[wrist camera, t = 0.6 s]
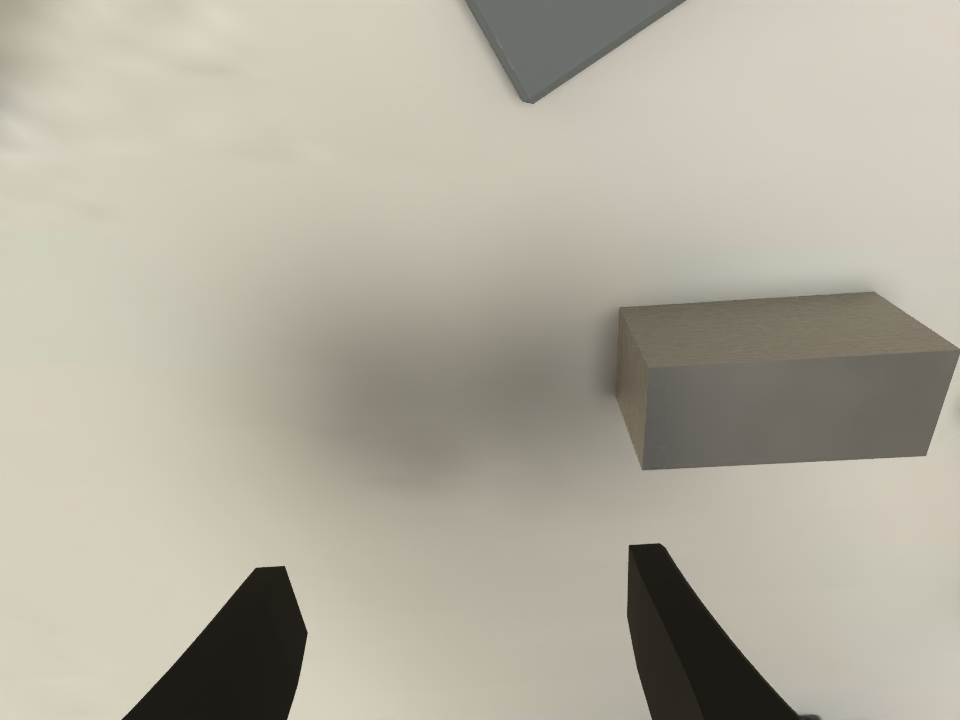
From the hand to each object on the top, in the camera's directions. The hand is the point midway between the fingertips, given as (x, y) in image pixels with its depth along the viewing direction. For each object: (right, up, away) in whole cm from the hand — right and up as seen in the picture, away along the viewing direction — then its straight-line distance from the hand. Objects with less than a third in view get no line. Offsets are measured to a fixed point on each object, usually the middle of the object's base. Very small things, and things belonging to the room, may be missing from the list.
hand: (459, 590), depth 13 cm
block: (+9, +5, +8) cm, 13 cm away
